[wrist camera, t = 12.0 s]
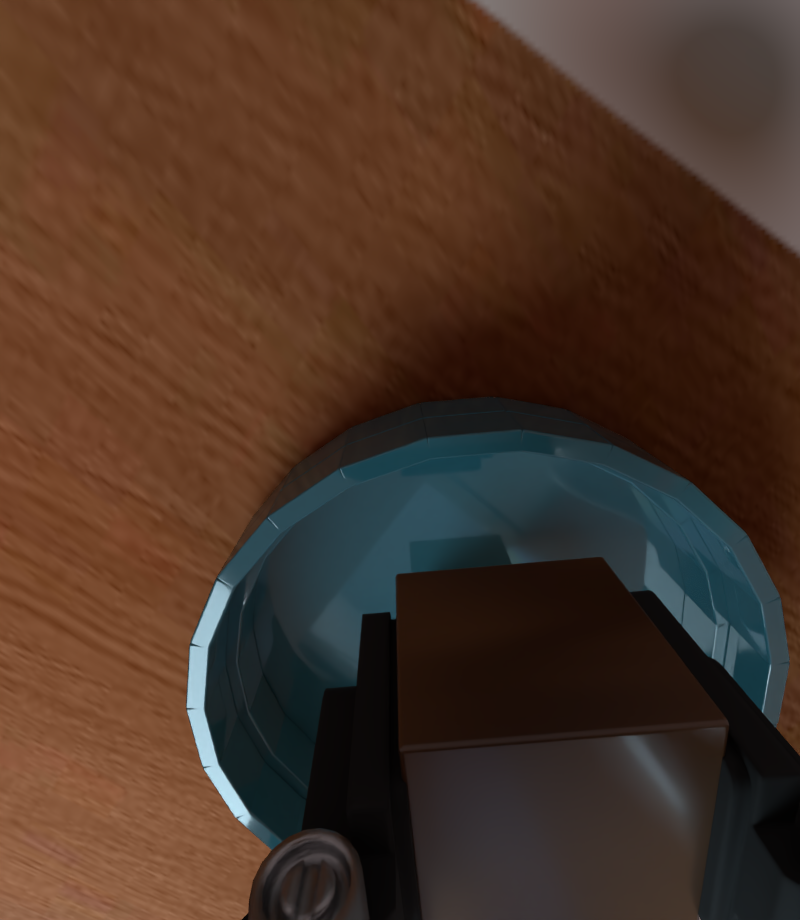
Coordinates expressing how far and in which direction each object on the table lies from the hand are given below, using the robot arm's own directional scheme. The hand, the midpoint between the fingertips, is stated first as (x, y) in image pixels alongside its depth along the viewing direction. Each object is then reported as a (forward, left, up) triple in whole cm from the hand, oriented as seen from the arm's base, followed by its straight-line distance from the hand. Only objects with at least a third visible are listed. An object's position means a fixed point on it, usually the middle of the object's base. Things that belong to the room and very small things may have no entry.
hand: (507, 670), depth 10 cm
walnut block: (0, 0, -1) cm, 1 cm away
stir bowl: (0, +6, -9) cm, 10 cm away
